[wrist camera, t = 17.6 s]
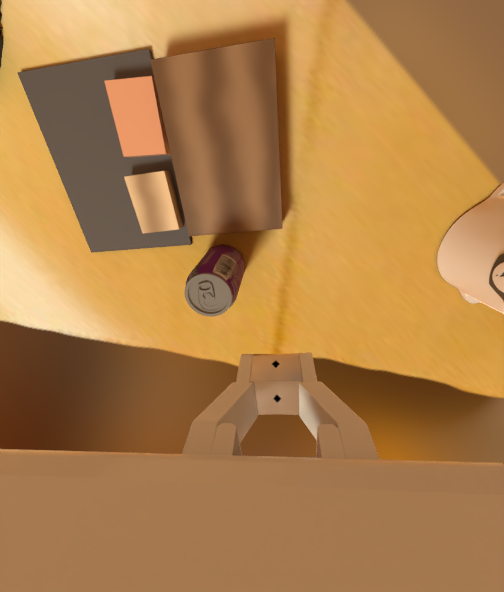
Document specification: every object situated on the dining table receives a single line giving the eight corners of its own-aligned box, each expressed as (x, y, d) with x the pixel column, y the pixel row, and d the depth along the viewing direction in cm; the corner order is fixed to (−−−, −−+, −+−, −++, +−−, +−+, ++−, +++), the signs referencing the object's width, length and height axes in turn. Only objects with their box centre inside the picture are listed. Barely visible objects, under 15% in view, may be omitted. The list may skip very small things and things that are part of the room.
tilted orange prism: (158, 81, 31) (151, 75, 29) (171, 154, 34) (165, 153, 32) (113, 85, 31) (104, 80, 29) (131, 157, 35) (123, 156, 33)
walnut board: (274, 52, 29) (274, 38, 26) (281, 223, 38) (282, 228, 35) (162, 70, 31) (150, 59, 27) (195, 231, 40) (188, 236, 36)
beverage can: (198, 249, 41) (172, 276, 30) (238, 239, 40) (226, 265, 29) (212, 286, 44) (192, 323, 33) (250, 278, 43) (241, 314, 32)
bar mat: (150, 50, 30) (148, 48, 29) (192, 243, 41) (191, 244, 40) (21, 74, 32) (17, 72, 31) (93, 251, 43) (91, 252, 42)
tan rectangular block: (169, 170, 35) (164, 170, 33) (183, 226, 39) (179, 229, 37) (131, 176, 36) (123, 176, 34) (148, 230, 40) (142, 233, 38)
